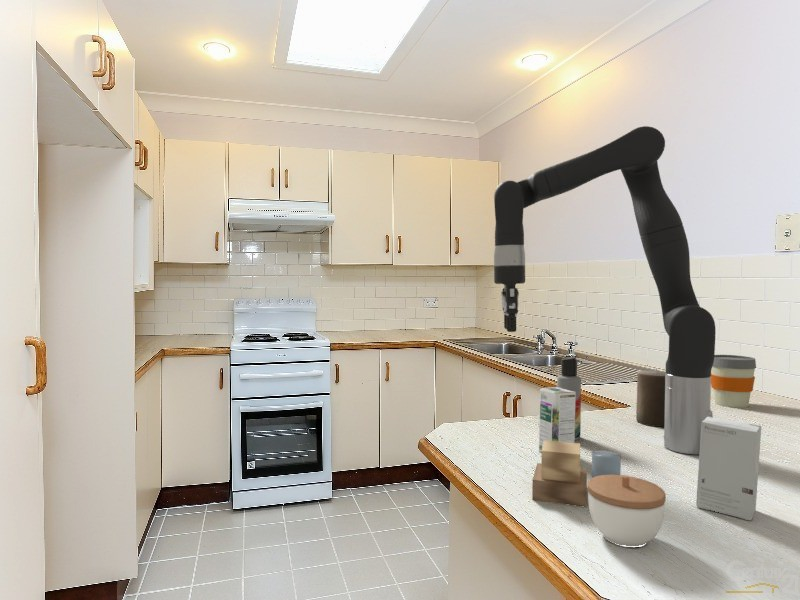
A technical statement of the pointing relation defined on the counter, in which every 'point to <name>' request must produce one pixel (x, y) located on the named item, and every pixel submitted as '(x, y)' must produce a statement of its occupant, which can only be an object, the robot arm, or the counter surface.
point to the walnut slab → (560, 489)
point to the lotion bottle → (571, 387)
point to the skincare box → (728, 467)
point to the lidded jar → (626, 508)
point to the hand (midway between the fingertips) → (510, 330)
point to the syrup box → (556, 415)
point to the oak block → (560, 461)
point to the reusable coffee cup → (732, 380)
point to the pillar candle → (651, 398)
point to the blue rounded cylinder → (605, 463)
